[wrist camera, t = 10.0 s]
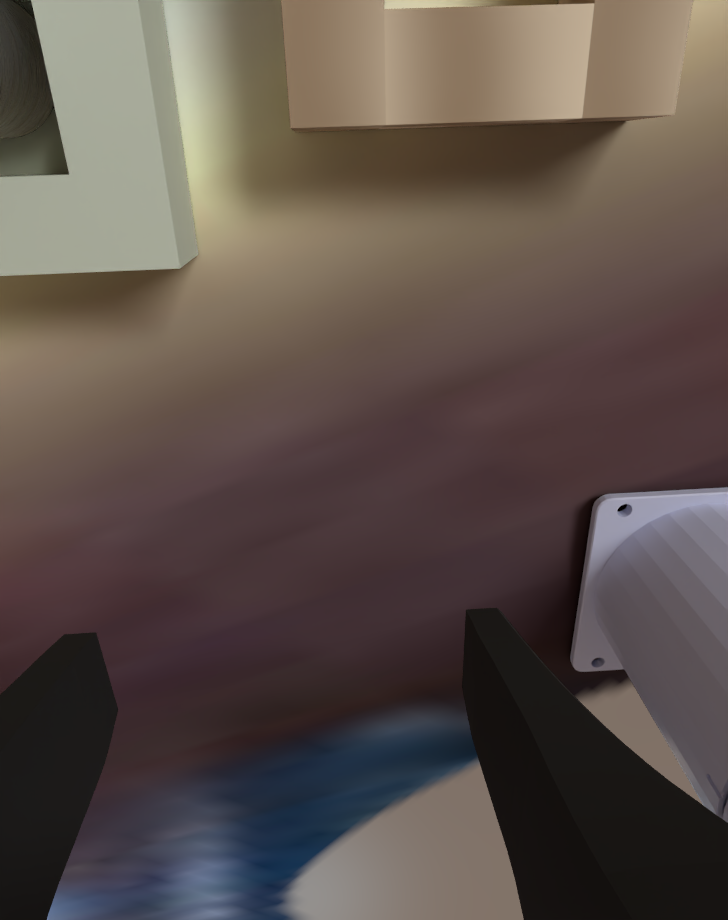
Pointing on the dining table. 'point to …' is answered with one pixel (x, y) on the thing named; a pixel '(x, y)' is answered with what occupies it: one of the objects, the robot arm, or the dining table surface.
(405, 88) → the socket block
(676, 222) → the dining table surface
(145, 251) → the block
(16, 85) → the rod
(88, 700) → the robot arm
